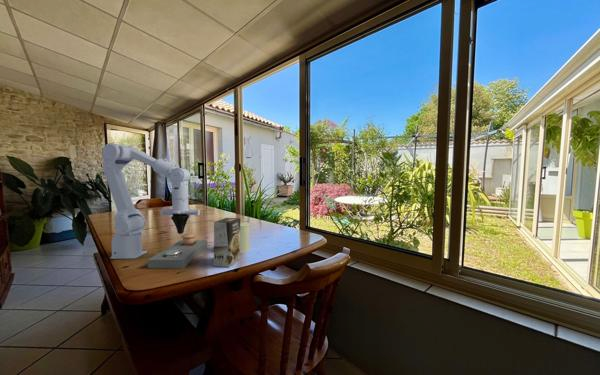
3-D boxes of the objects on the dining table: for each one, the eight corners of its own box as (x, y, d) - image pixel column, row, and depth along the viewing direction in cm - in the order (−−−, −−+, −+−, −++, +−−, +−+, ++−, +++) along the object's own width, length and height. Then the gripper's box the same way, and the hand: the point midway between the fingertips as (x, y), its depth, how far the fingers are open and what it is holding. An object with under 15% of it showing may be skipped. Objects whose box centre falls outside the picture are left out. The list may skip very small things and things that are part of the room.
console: (147, 268, 84) (147, 259, 84) (180, 247, 109) (180, 240, 109) (183, 268, 85) (182, 259, 84) (207, 246, 109) (207, 240, 109)
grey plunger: (162, 264, 87) (161, 253, 87) (169, 259, 92) (169, 249, 92) (176, 264, 87) (176, 253, 87) (183, 259, 92) (183, 249, 92)
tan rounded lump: (179, 246, 101) (179, 236, 101) (185, 242, 106) (185, 233, 106) (192, 246, 101) (192, 236, 101) (197, 242, 106) (197, 233, 106)
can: (252, 247, 109) (252, 221, 109) (244, 254, 100) (244, 225, 100) (233, 246, 111) (233, 220, 110) (223, 252, 102) (223, 224, 101)
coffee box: (229, 267, 85) (229, 222, 85) (213, 266, 87) (212, 221, 86) (241, 259, 94) (241, 217, 94) (225, 257, 96) (225, 217, 95)
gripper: (155, 199, 91) (156, 235, 92) (194, 200, 91) (195, 235, 92) (165, 197, 98) (166, 231, 99) (201, 198, 98) (202, 231, 99)
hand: (180, 233), depth 96 cm, fingers closed
